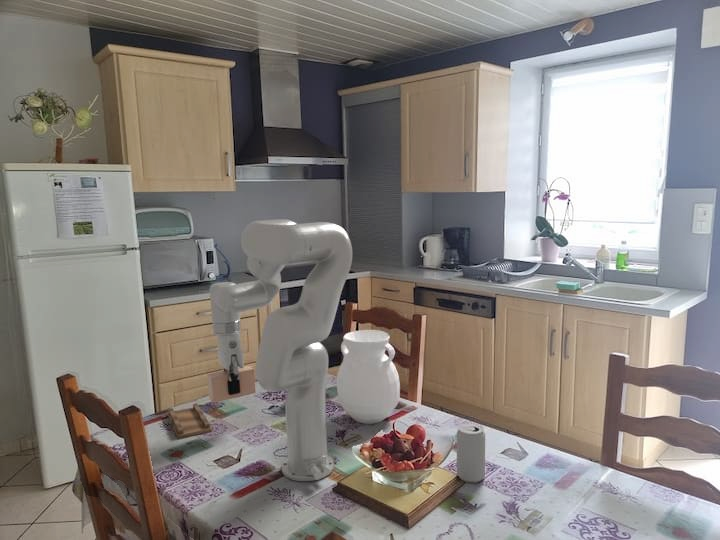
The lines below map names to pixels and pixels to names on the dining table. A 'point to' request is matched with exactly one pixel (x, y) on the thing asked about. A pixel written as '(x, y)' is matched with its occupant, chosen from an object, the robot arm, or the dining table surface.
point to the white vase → (368, 376)
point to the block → (220, 385)
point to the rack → (189, 422)
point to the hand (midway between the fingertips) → (232, 390)
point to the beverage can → (471, 452)
